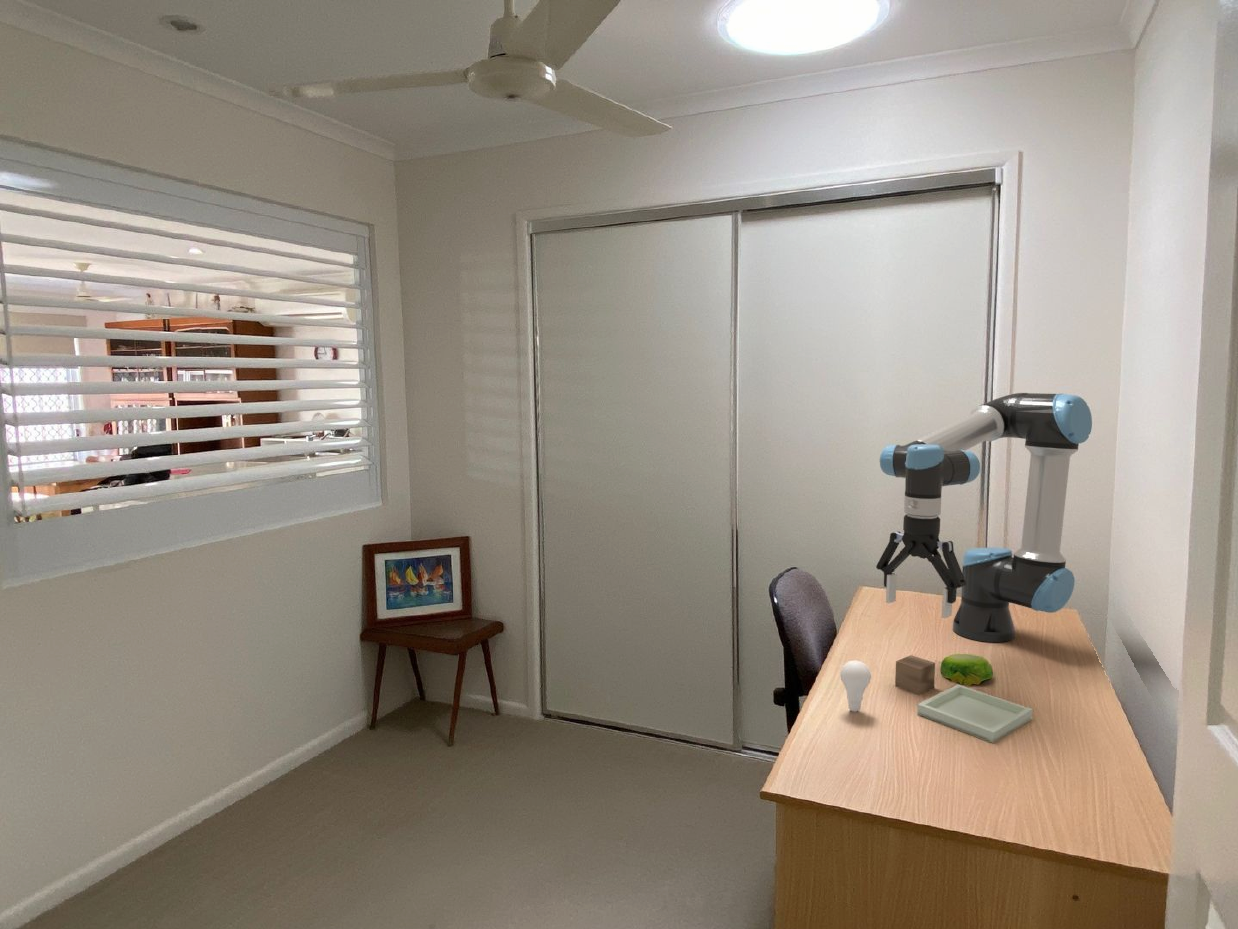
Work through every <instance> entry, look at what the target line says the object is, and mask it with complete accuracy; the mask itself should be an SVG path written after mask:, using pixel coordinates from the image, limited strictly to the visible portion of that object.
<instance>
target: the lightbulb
mask: <svg viewBox="0 0 1238 929" xmlns="http://www.w3.org/2000/svg"><path fill="white" fill-rule="evenodd" d="M839 674H840V680H841V682H842V684H843V686H844V688H845V690H846V698H847V704H848V705H847V706H848V709H849V710H850V711H851V712H853V713H857V712H859V711H861V709H862V701H863V699H864V694H865V690H866V689H867V688H868V686H869V684H870V683H871V679H872V674H871V670H870V669H869V667H868V666H867V664H866V663H865V662H862V661H860V660H849V661H847V662H846V663H844V664H843V666H842V667H841V669H840V673H839Z"/></svg>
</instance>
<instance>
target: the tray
mask: <svg viewBox="0 0 1238 929" xmlns="http://www.w3.org/2000/svg"><path fill="white" fill-rule="evenodd" d="M1033 711H1034V710H1033V708H1031V707H1027V706H1023V705H1021V704H1018V703H1015V702H1012V701H1009V700H1006V699H1003V698H1000V697H996V696H994V695H990V694H988V693H985V692H983V691H980V690H977V689H973V688H971V687H968V686H966V685H963V684H960V683H959V684H958V683H957V684H956V685H953V686H952V687H950V688H948V689H946V690H944V691H941V692H939V693H938V694H935V695H934V696H931V697H930V698H927V699H925V700H923V701H922V702H919V703H917V712H916V714H917V715H918V716H921V717H923V718H926V719H929V720H931V721H933V722H937V723H939V724H942V725H945V726H947V727H949V728H952V729H954V730H958V731H960V732H963V733H965V734H967V735H969V736H970V735H971V736H973V737H974V738H975V737H976V738H978V739H981V740H982V741H983V740H984V741H986V742H989V743H990V744H995V743H996V742H998V741H999V740H1001V739H1003V738H1004V737H1006V736H1007V735H1009V734H1010V733H1013V731H1015V730H1017V729H1019V728H1020V727H1022V726H1024V725H1025V724H1027V723H1028V722H1031V721H1032V720H1033Z"/></svg>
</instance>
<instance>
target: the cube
mask: <svg viewBox="0 0 1238 929" xmlns="http://www.w3.org/2000/svg"><path fill="white" fill-rule="evenodd" d="M935 677H936V662H934V661H930V660H928V659H925V658H922V657H918V656H915V655H912V654H910V655H908V656H905V657H903V658H900V659H899V660H896V661H895V677H894V679H895V681H894V682H895V683H894V687H895V688H899V689H901V690H904V691H906V692H910V693H913V694H916V695H919V696H920V695H922V694H924V693H926V692H928V691H930V690H933V689H934V688H935Z"/></svg>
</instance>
